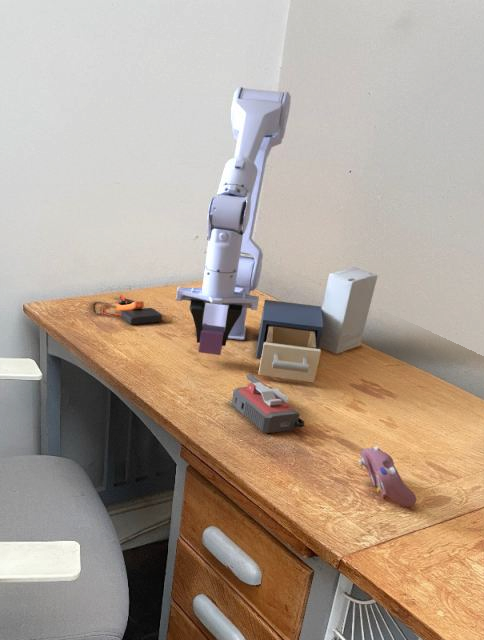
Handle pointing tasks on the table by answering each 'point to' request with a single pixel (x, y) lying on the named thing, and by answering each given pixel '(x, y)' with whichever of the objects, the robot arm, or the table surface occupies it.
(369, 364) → the table surface
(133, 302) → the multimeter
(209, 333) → the block
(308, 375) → the drawer
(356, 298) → the cosmetic box
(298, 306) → the cabinet
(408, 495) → the video game controller
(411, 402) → the table surface
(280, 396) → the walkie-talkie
